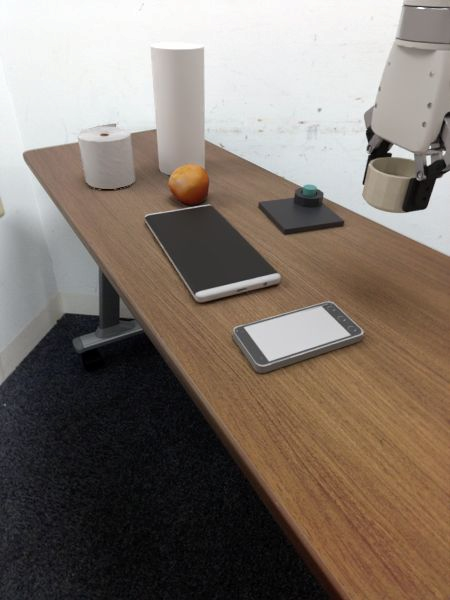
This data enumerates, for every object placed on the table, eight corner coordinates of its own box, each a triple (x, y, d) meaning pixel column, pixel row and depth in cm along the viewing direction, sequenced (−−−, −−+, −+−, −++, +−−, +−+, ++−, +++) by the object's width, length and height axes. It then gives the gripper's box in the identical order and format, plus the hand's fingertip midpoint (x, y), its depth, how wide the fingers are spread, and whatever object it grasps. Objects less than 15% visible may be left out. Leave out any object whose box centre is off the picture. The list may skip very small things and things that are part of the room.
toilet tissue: (94, 194, 87) (85, 144, 81) (78, 175, 95) (69, 128, 89) (143, 185, 91) (138, 137, 85) (124, 167, 99) (118, 122, 93)
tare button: (311, 191, 84) (312, 183, 83) (318, 196, 82) (319, 188, 81) (299, 192, 83) (300, 185, 82) (306, 197, 81) (307, 190, 81)
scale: (312, 199, 87) (315, 186, 85) (344, 226, 78) (347, 211, 76) (257, 207, 84) (258, 192, 82) (284, 235, 75) (286, 219, 73)
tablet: (197, 306, 58) (196, 296, 57) (143, 222, 77) (142, 213, 76) (282, 285, 62) (283, 275, 61) (211, 211, 82) (211, 202, 81)
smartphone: (366, 333, 52) (258, 368, 47) (364, 339, 53) (258, 374, 48) (331, 300, 58) (230, 328, 52) (329, 306, 58) (230, 334, 53)
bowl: (396, 188, 57) (405, 154, 54) (434, 210, 52) (446, 174, 49) (350, 194, 55) (357, 160, 52) (384, 218, 50) (394, 181, 47)
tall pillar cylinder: (170, 179, 94) (162, 49, 79) (152, 164, 102) (142, 43, 87) (212, 172, 98) (213, 47, 83) (192, 158, 106) (190, 41, 91)
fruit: (225, 194, 85) (207, 163, 79) (196, 220, 84) (176, 192, 78) (203, 180, 90) (185, 151, 84) (176, 205, 89) (156, 178, 83)
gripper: (542, 37, 37) (469, 223, 48) (410, 21, 50) (376, 169, 61) (475, 40, 35) (414, 233, 46) (355, 22, 48) (330, 175, 59)
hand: (392, 195), depth 53 cm, fingers closed on bowl, 7 cm apart
